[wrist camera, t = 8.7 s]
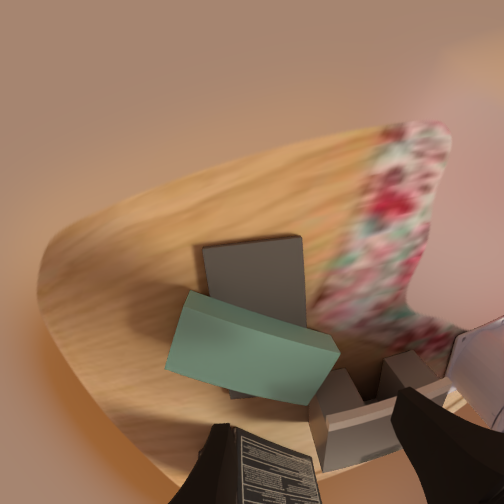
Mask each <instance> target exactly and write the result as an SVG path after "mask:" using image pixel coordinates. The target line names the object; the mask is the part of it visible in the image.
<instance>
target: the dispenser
mask: <svg viewBox="0 0 504 504" xmlns="http://www.w3.org/2000/svg"><path fill="white" fill-rule="evenodd" d="M452 383H453V382H452V381H451V380H450V379H449V378H448V377H445V378H443V379H439V378H438V377H437V376H436V375H435V373H434V372H433V371H432V370H431V369H430V368H429V367H428V366H427V365H426V364H425V362H424V361H423V360H422V359H421V358H420V357H419V356H418V355H417V354H416V353H415V352H414V351H413V350H411V351H407V352H404V353H401V354H397V355H394V356H391V357H387V358H384V360H383V366H382V372H381V377H380V382H379V388H378V392H377V397H376V398H375V399H372V400H368V401H364V402H363V400H362V398H361V396H360V394H359V392H358V391H357V389H356V387H355V385H354V383H353V381H352V379H351V378H350V376H349V374H348V372H347V370H346V368H343V369H338V370H333V371H330V372H329V374H328V375H327V377H326V378H325V380H324V381H323V383H322V385H321V386H320V388H319V389H318V391H317V392H316V393H315V395H314V396H313V398H312V399H311V401H310V402H309V421H308V422H309V426H310V430H311V433H312V437H313V440H314V444H315V448H316V451H317V455H318V458H319V462H320V466H321V469H322V473H325V472H329V471H334V470H338V469H342V468H346V467H349V466H353V465H357V464H360V463H363V462H367V461H370V460H373V459H376V458H379V457H382V456H384V455H387V454H390V453H393V452H396V451H398V450H401V449H403V448H402V446H401V444H400V442H399V440H398V439H397V436H396V434H395V431H394V429H393V426H392V423H391V421H390V419H391V416H392V412H393V409H394V405H395V402H396V398H397V394H398V390H401V389H404V388H407V387H412V388H414V389H415V390H417V391H418V392H420V393H421V394H423V395H424V396H426V397H427V398H429V399H430V400H432V401H433V402H435V403H436V404H438V405H439V406H441V407H442V406H443V404H444V401H445V399H446V396H447V394H448V391H450V388H451V386H452Z"/></svg>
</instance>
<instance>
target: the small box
mask: <svg viewBox="0 0 504 504" xmlns="http://www.w3.org/2000/svg"><path fill="white" fill-rule="evenodd" d="M231 431H232V434H233V438H234V441H235V445H236V448H237V456H238V482H237V496H236V504H322V501H321V498H320V493H319V489H318V484H317V480H316V476H315V471H314V466H313V462H312V457H310V456H307V455H304V454H301V453H298V452H296V451H293V450H290V449H287V448H285V447H282V446H280V445H277V444H274V443H272V442H269V441H267V440H264V439H262V438H260V437H257V436H255V435H253V434H251V433H248V432H246V431H244V430H242V429H239V428H237V427H235V428H233V429H231ZM202 450H203V449H202ZM202 450H200V451H199V455H198V458H199V456H200V454H201V452H202Z"/></svg>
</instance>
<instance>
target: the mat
mask: <svg viewBox="0 0 504 504" xmlns="http://www.w3.org/2000/svg"><path fill="white" fill-rule="evenodd" d="M202 251H203V258H204V264H205V270H206V276H207V282H208V288H209V294H210V297H211V298H214V299H217V300H220V301H223V302H226V303H228V304H231V305H234V306H237V307H240V308H243V309H246V310H249V311H252V312H256V313H259V314H262V315H265V316H268V317H271V318H274V319H278V320H281V321H284V322H287V323H291V324H294V325H297V326H301V327H304V328H307V322H306V296H305V276H304V259H303V244H302V237H301V236H291V237H283V238H274V239H265V240H257V241H248V242H240V243H231V244H223V245H215V246H207V247H203V249H202ZM228 390H229V394H230V398H231V399H240V398H251V397H259V396H254V395H250V394H246V393H242V392H238V391H234V390H230V389H228Z"/></svg>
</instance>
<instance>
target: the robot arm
mask: <svg viewBox="0 0 504 504" xmlns="http://www.w3.org/2000/svg"><path fill="white" fill-rule="evenodd" d="M445 377H448V378H449V379H450V380H451V381H452V382H453V383H452V386H451V388H450V391H448V394H449V393H451V392H454V391H456V390H457V391H458V392H459V393H460V394H461V395H462V396H463V397H464V398H465V400H466V401H467V402H468V403H469V404H470V405H471V406H472V407H473V409H474V410H475V411H476V412H477V413H478V414H479V416H480V417H481V418H482V419H483V420H484V421H485V423H486V424H487V425H488V426H489V427H490V429H491V430H490V429H487V428H484V427H481V426H478V425H476V424H473V423H471V422H469V421H466V420H464V419H462V418H460V417H458V416H456V415H455V414H453V413H451V412H449V411H448V410H446V409H444V408H443V407H441V406H439V405H438V404H436V403H435V402H433V401H432V400H430V399H429V398H427V397H426V396H424V395H423V394H421V393H420V392H418V391H417V390H415V389H414V388H412V387H407V388H404V389H401V390H398V394H397V398H396V402H395V405H394V409H393V412H392V416H391V419H390V421H391V423H392V426H393V429H394V431H395V434H396V436H397V439H398V440H399V442H400V444H401V446H402V448H403V449H404V451H405V453H406V455H407V456H408V458H409V460H410V462H411V464H412V465H413V467H414V469H415V471H416V473H417V475H418V477H419V480H420V482H421V485H422V487H423V490H424V493H425V497H426V500H427V503H428V504H504V315H503V316H501V317H499V318H497V319H495V320H493V321H491V322H489V323H487V324H484V325H482V326H480V327H477V328H475V329H473V330H470V331H468V332H466V333H463V334H461V335H459V336H457V338H456V339H455V343H454V347H453V350H452V354H451V357H450V361H449V364H448V367H447V371H446V374H445ZM445 377H444V378H445ZM237 482H238V456H237V448H236V445H235V441H234V438H233V434H232V431H231V427H230V423H223V424H214V425H213V426H212V428H211V431H210V434H209V437H208V439H207V441H206V444H205V446H204V448H203V450H202V452H201V454H200V456H199V458H198V460H197V462H196V464H195V466H194V468H193V469H192V471H191V473H190V474H189V476H188V478H187V479H186V481H185V482H184V484H183V485H182V487H181V488H180V490H179V491H178V492H177V493H176V495H175V496H174V497H173V498H172V500H171V501H170V502H169V503H168V504H236V496H237Z"/></svg>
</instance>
